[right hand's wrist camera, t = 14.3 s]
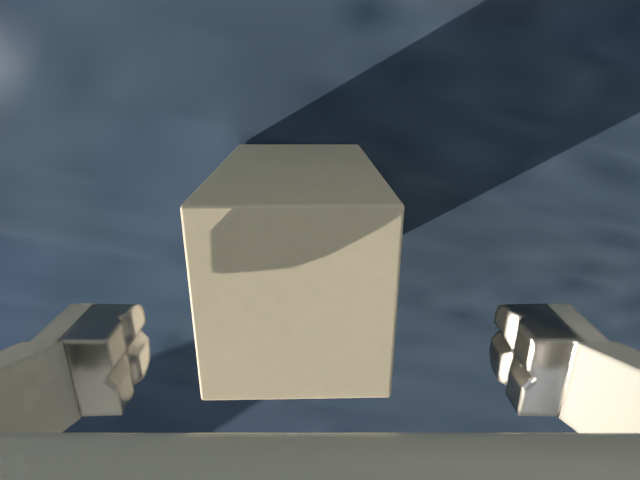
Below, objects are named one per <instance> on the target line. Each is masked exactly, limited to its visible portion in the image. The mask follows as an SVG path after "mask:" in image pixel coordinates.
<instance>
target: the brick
mask: <svg viewBox="0 0 640 480" xmlns="http://www.w3.org/2000/svg"><path fill="white" fill-rule="evenodd" d="M404 208H405V207H404V205H403V203H402V202H401V201H400V199H399V198H398V197H397V195H396V194H395V193H394V191H393V190H392V189H391V187H390V186H389V185H388V183H387V182H386V181H385V179H384V178H383V177H382V175H381V174H380V173H379V171H378V170H377V169H376V167H375V166H374V165H373V163H372V162H371V161H370V159H369V158H368V157H367V155H366V154H365V153H364V151H363V150H362V149H361V147H360V146H359V145H358V144H240V145H239V146H238V147H237V148H236V149H235V150H234V151H233V152H232V153H231V154H230V155H229V156H228V157H227V158H226V159H225V160H224V161H223V162H222V163H221V165H220V166H219V167H218V168H217V169H216V170H215V171H214V172H213V173H212V174H211V175H210V176H209V177H208V178H207V179H206V180H205V181H204V182H203V183H202V184H201V185H200V186H199V187H198V188H197V190H196V191H195V192H194V193H193V194H192V195H191V196H190V197H189V198H188V199H187V200H186V201H185V202H184V203H183V204H182V205H181V207H180V212H181V221H182V230H183V239H184V248H185V257H186V266H187V275H188V284H189V293H190V302H191V311H192V320H193V329H194V338H195V348H196V357H197V366H198V375H199V384H200V393H201V399H202V400H254V399H315V398H375V397H390V395H391V385H392V371H393V357H394V344H395V330H396V317H397V303H398V289H399V276H400V262H401V249H402V235H403V222H404Z"/></svg>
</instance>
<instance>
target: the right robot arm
mask: <svg viewBox="0 0 640 480" xmlns="http://www.w3.org/2000/svg"><path fill="white" fill-rule="evenodd" d="M145 323H146V319H145V314H144V309H143V308H142V307H141V306H140V305H139V304H95V303H85V304H70V305H69V306H68V307H67V308H66V309H65V310H63V311H62V312H61V313H60V314H59V315H58V316H57V317H56V318H55V319H54V320H53V321H52V322H50V323H49V324H48V325H47V326H46V327H45V328H44V329H43V330H42V331H41V332H40V333H39V334H37V335H36V336H35V337H34V338H33V339H32V340H31V341H30V342H20V343H18V344H15V345H13V346H11V347H8V348H6V349H3V350H1V351H0V480H640V351H639V350H637V349H634V348H632V347H629V346H627V345H625V344H622V343H620V342H610V341H609V340H608V339H607V338H606V337H605V336H604V335H603V334H602V333H600V332H599V331H598V330H597V329H596V328H595V327H594V326H593V325H592V324H591V323H590V322H589V321H588V320H586V319H585V318H584V317H583V316H582V315H581V314H580V313H579V312H578V311H577V310H576V309H575V308H573V307H572V306H571V305H569V304H566V303H557V304H511V305H499V306H498V308H497V310H496V312H495V318H494V323H495V324H496V326H497V327H498V329H499V331H498V332H497V333H496V334H495V335H494V336H493V337H492V338H491V343H490V362H491V366H492V369H493V372H494V374H495V376H496V378H497V380H499V381H501V382H502V383H504V384H505V385H507V387H506V393H505V394H506V395H507V397H508V399H509V400H510V402H511V404H512V405H513V407H514V409H515V411H516V412H517V414H518V415H527V416H559V418H560V419H561V420H562V421H564V422H565V423H566V424H568V425H569V426H570V427H572V428H573V429H574V430H576V431H577V432H578V433H62V432H63V431H65V430H66V429H67V428H69V427H70V426H71V425H73V424H74V423H75V422H77V421H78V420H79V419H81V416H112V415H122V414H123V412H124V411H125V409H126V407H127V406H128V404H129V402H130V400H131V399H132V397H133V395H134V394H135V393H134V387H133V385H135V384H136V383H138V382H139V381H141V380H143V378H144V376H145V374H146V372H147V370H148V366H149V361H150V343H149V338H148V337H147V336H146V335H145V334H144V333H143V332H142V331H141V329H142V328H143V326H144V324H145Z"/></svg>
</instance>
